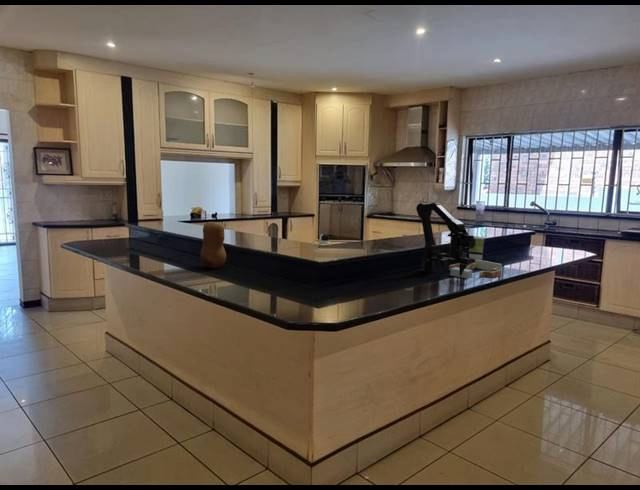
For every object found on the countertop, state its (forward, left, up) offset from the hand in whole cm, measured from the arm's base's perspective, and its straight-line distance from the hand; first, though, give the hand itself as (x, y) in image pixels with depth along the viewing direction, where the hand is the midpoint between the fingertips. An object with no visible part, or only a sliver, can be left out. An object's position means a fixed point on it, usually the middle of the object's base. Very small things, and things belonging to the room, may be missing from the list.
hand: (453, 274), depth 244 cm
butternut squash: (-120, +49, -2) cm, 130 cm away
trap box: (+25, +9, -2) cm, 26 cm away
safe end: (+35, +13, -2) cm, 37 cm away
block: (+8, +3, -2) cm, 9 cm away
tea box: (+51, +47, -2) cm, 69 cm away
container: (-44, +77, -2) cm, 89 cm away
